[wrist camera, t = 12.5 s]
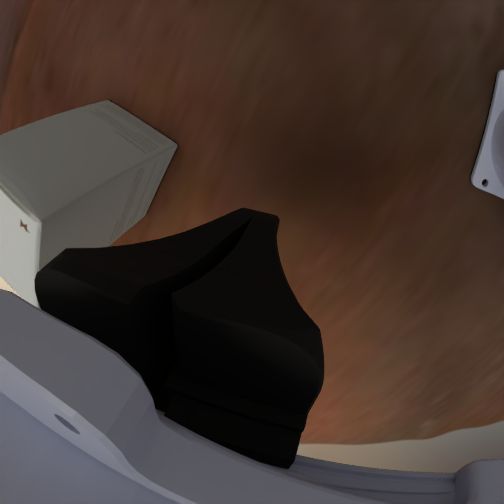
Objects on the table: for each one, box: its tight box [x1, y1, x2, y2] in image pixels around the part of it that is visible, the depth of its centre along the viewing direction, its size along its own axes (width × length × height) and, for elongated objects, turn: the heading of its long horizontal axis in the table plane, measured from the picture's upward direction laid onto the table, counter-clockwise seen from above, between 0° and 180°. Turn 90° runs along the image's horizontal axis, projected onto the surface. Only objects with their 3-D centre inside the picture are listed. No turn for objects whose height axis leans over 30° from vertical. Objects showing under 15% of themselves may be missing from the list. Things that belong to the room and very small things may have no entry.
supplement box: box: [0, 100, 178, 309], centre depth 18 cm, size 7×7×13 cm
